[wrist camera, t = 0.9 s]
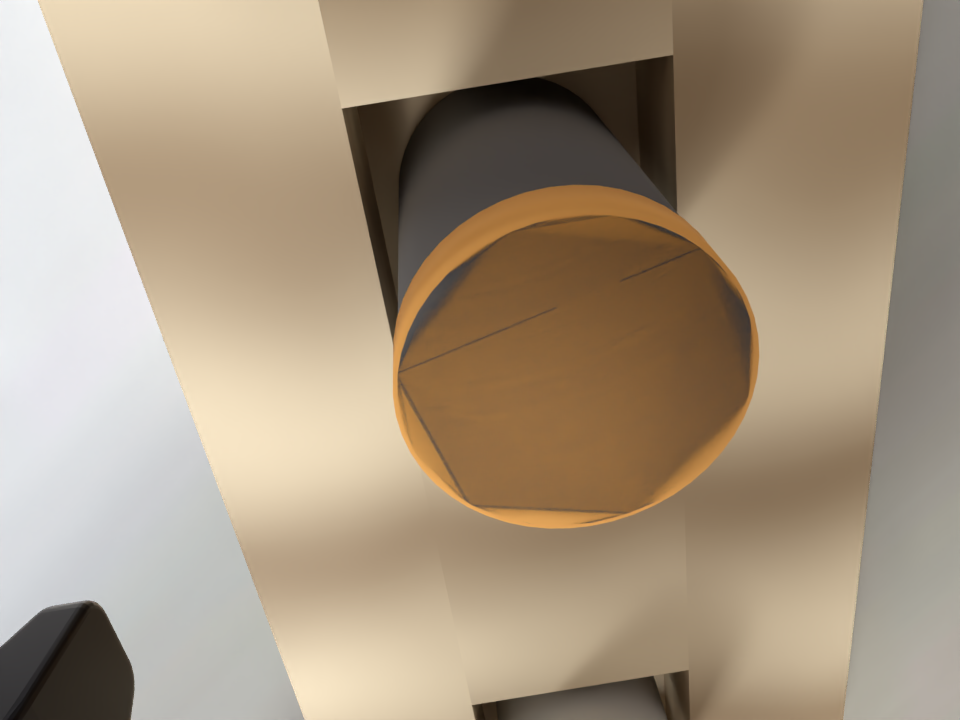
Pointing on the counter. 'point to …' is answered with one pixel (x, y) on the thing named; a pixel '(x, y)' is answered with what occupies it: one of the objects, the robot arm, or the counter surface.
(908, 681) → the counter surface
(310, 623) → the wooden socket board
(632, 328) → the capped plug
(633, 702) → the grey plug
